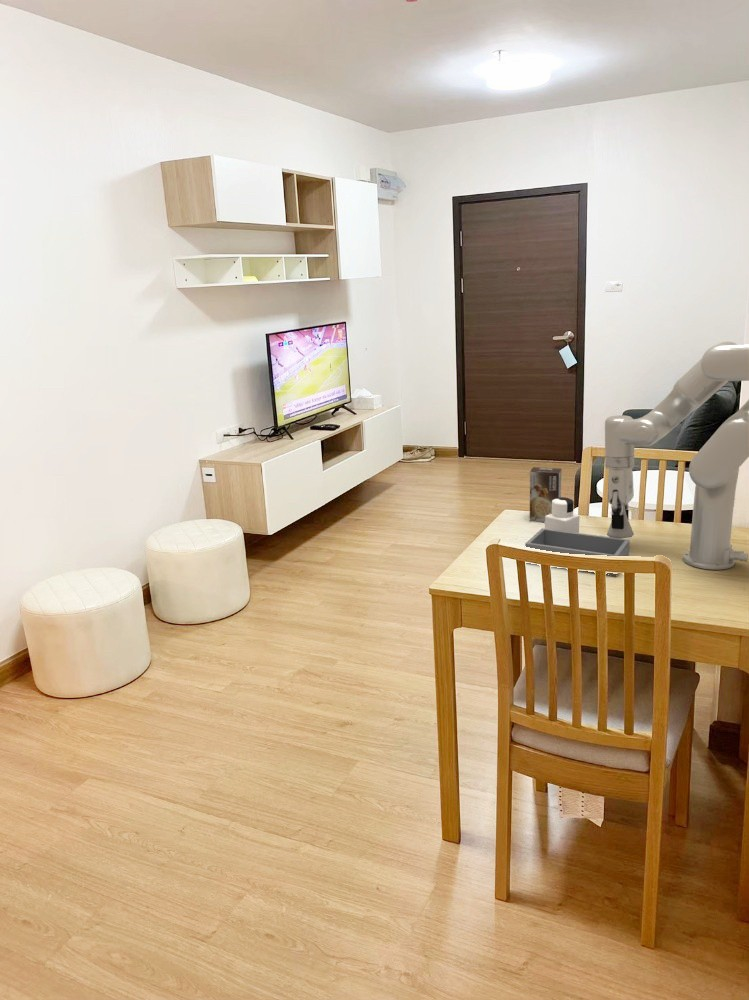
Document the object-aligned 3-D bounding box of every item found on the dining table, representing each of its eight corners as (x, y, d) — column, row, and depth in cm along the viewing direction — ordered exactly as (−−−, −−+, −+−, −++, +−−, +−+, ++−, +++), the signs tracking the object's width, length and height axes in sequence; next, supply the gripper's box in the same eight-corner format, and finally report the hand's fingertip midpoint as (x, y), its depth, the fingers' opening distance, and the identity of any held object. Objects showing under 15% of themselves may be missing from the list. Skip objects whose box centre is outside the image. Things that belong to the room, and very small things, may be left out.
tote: (628, 559, 209) (629, 539, 207) (616, 576, 197) (617, 556, 196) (541, 546, 220) (542, 528, 219) (524, 562, 209) (525, 543, 207)
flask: (635, 539, 213) (635, 503, 210) (607, 539, 214) (607, 504, 212) (632, 531, 220) (632, 497, 217) (605, 531, 221) (605, 497, 219)
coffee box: (561, 517, 245) (562, 468, 241) (558, 523, 240) (560, 473, 235) (532, 515, 249) (533, 466, 244) (528, 521, 243) (529, 471, 238)
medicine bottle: (558, 533, 231) (559, 494, 228) (579, 538, 226) (580, 498, 223) (544, 539, 227) (545, 499, 223) (564, 544, 222) (566, 504, 218)
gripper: (626, 468, 203) (627, 535, 207) (640, 455, 217) (640, 518, 221) (597, 468, 207) (598, 533, 211) (613, 454, 221) (613, 516, 225)
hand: (620, 525), depth 216 cm, fingers closed on flask, 4 cm apart
